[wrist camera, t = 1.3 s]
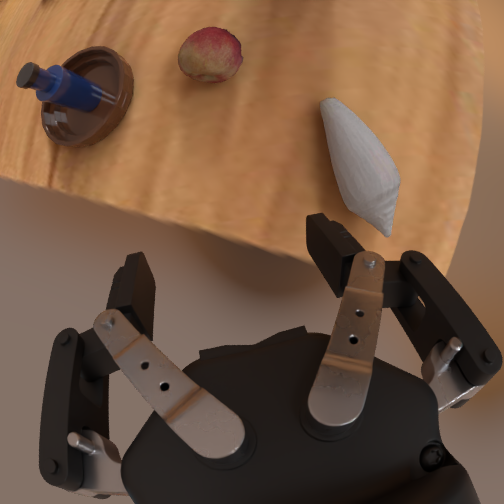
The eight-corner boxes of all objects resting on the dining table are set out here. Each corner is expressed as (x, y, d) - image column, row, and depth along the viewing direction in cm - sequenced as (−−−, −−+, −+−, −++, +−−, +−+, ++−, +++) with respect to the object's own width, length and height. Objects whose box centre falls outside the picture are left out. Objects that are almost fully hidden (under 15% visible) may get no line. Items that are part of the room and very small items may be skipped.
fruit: (175, 74, 30) (157, 51, 23) (212, 36, 29) (202, 7, 21) (219, 102, 31) (210, 82, 24) (256, 61, 30) (257, 34, 22)
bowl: (62, 69, 29) (49, 63, 25) (140, 45, 29) (130, 34, 25) (53, 154, 33) (37, 153, 29) (132, 139, 33) (119, 135, 29)
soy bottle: (78, 87, 29) (16, 63, 15) (103, 80, 29) (43, 48, 15) (75, 115, 31) (8, 100, 16) (100, 109, 31) (34, 87, 16)
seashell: (331, 170, 40) (374, 247, 32) (285, 129, 33) (329, 212, 25) (372, 137, 36) (428, 209, 28) (333, 88, 29) (401, 158, 20)
